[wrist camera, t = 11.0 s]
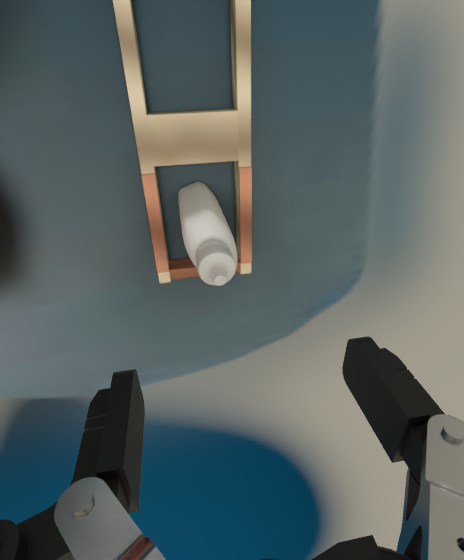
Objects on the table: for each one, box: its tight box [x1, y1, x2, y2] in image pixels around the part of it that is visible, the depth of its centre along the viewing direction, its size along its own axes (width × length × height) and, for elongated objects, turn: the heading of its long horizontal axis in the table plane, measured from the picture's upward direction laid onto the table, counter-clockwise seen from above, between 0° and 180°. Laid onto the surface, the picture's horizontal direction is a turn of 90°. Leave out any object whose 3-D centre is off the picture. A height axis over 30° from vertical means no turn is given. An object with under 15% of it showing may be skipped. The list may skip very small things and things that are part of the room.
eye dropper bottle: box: [178, 182, 237, 286], centre depth 25 cm, size 4×6×12 cm
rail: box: [113, 0, 252, 283], centre depth 26 cm, size 24×8×2 cm, turn 2°
